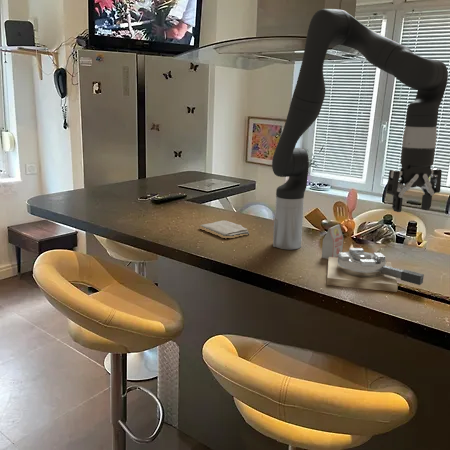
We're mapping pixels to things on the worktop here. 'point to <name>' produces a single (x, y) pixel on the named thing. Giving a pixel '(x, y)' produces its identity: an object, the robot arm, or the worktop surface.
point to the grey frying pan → (372, 266)
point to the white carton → (332, 242)
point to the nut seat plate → (359, 279)
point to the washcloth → (226, 228)
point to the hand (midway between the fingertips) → (411, 210)
